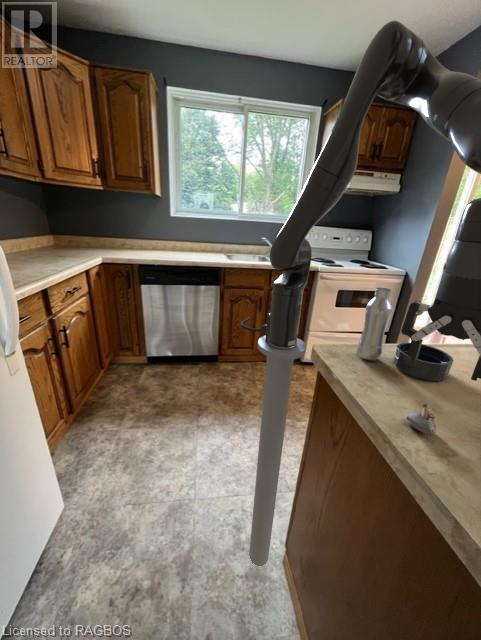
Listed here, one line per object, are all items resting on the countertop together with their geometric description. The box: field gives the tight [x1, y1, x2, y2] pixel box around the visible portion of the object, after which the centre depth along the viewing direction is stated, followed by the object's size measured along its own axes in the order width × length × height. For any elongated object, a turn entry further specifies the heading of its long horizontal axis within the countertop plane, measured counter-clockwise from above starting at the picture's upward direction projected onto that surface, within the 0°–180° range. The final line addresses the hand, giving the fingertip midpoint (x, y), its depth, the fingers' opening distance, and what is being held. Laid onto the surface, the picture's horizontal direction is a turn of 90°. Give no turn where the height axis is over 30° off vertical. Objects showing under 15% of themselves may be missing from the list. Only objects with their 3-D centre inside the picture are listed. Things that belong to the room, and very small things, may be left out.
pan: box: [392, 342, 455, 382], centre depth 71 cm, size 12×12×5 cm
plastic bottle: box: [356, 287, 394, 361], centre depth 74 cm, size 6×7×20 cm
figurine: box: [406, 402, 437, 436], centre depth 50 cm, size 5×4×6 cm
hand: (441, 368), depth 46 cm, fingers open, 8 cm apart
